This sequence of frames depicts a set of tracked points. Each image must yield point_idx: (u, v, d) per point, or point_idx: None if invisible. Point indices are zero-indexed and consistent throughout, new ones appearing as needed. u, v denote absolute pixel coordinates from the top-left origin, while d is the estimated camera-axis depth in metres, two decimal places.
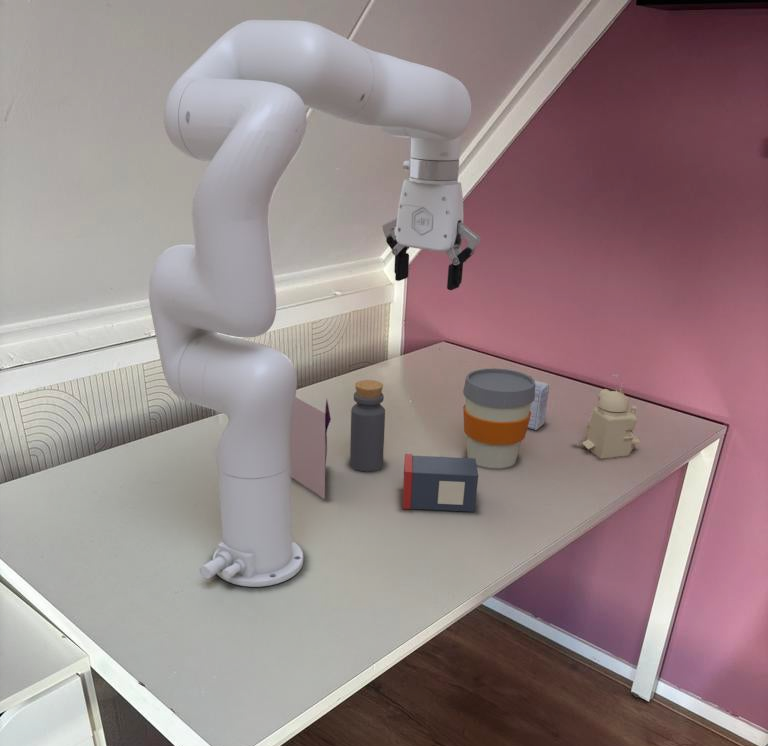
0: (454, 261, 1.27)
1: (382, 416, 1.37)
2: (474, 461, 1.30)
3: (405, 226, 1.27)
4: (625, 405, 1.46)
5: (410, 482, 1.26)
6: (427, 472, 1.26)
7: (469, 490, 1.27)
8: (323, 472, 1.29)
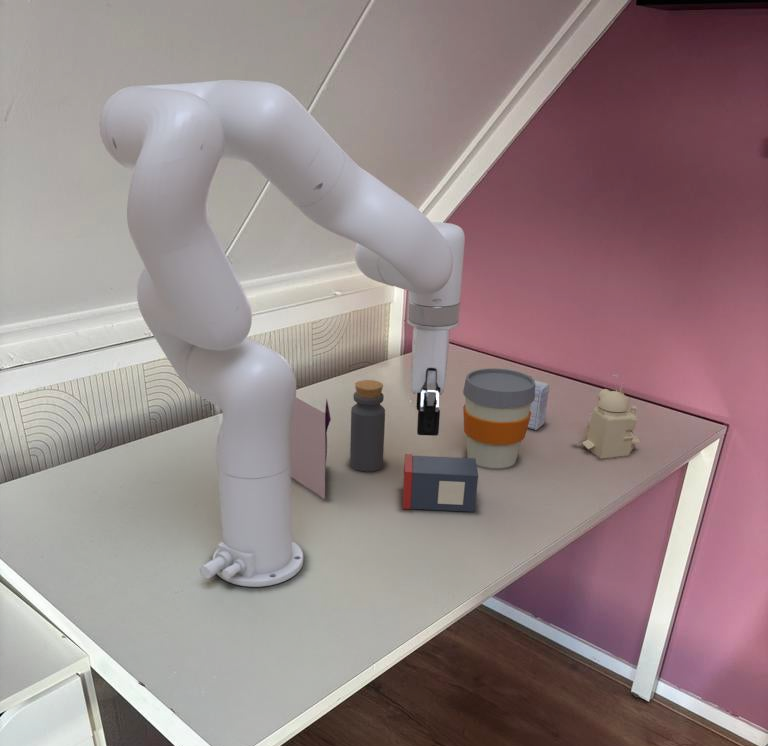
0: None
1: (382, 416, 1.37)
2: (474, 461, 1.30)
3: None
4: (625, 405, 1.46)
5: (410, 482, 1.26)
6: (427, 472, 1.26)
7: (469, 490, 1.27)
8: (323, 472, 1.29)
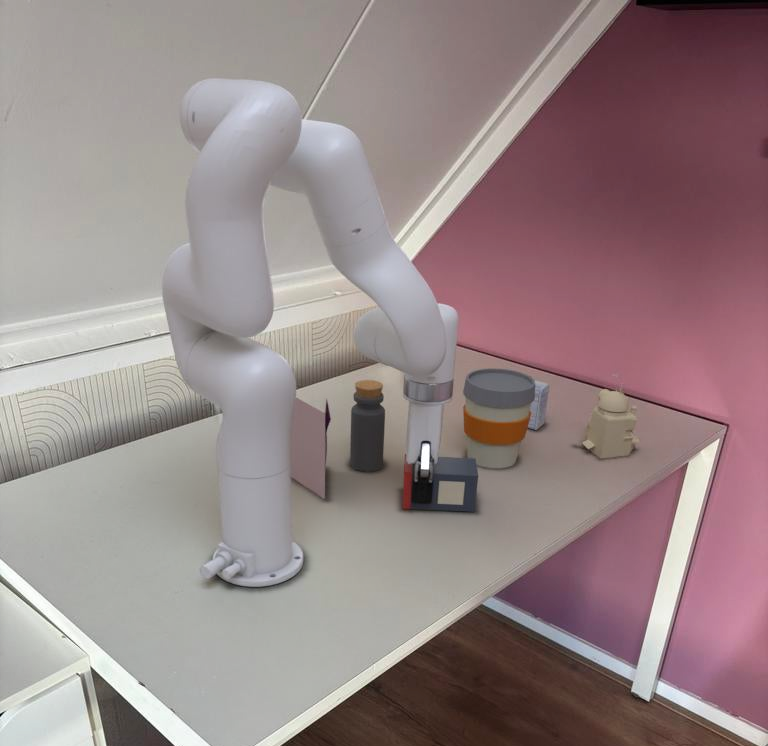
0: None
1: (382, 416, 1.37)
2: (474, 461, 1.30)
3: None
4: (625, 405, 1.46)
5: (410, 482, 1.26)
6: None
7: (469, 490, 1.27)
8: (323, 472, 1.29)
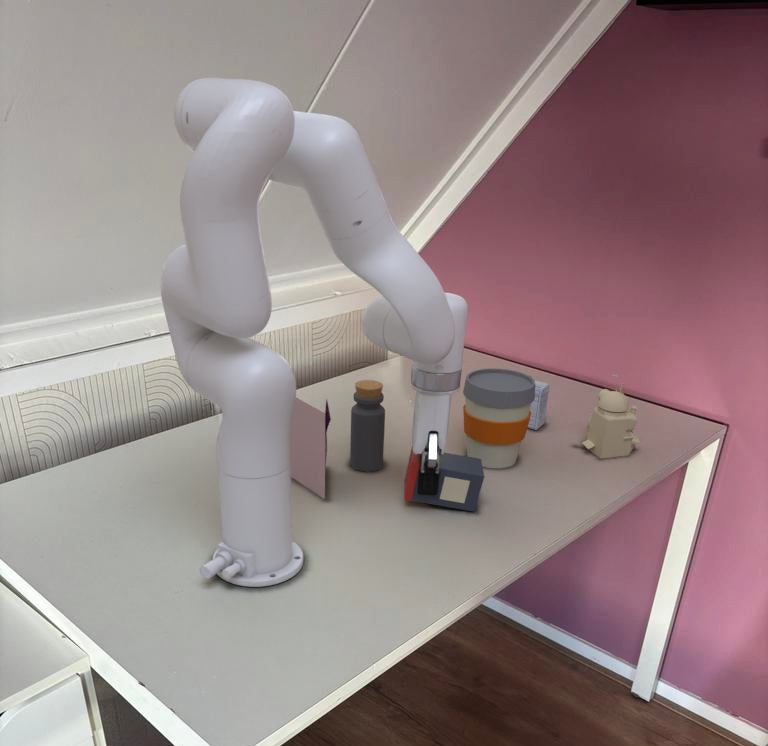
0: None
1: (382, 416, 1.37)
2: (480, 461, 1.30)
3: None
4: (625, 405, 1.46)
5: (416, 474, 1.25)
6: None
7: (473, 489, 1.27)
8: (323, 472, 1.29)
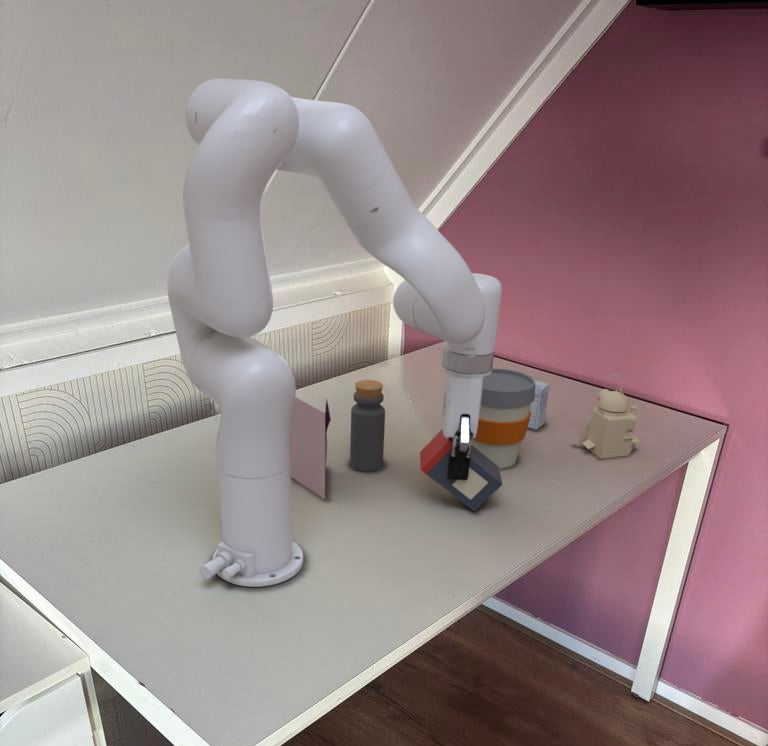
0: None
1: (382, 416, 1.37)
2: (498, 469, 1.31)
3: None
4: (625, 405, 1.46)
5: (445, 452, 1.24)
6: None
7: (486, 491, 1.27)
8: (323, 472, 1.29)
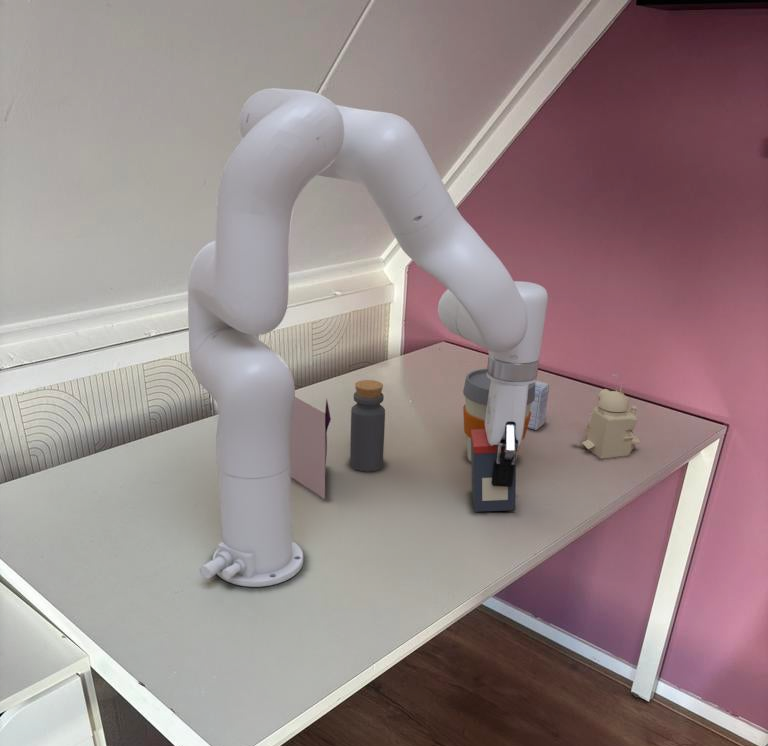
0: (497, 460, 1.23)
1: (382, 416, 1.37)
2: None
3: (486, 410, 1.27)
4: (625, 405, 1.46)
5: None
6: None
7: (498, 504, 1.28)
8: (323, 472, 1.29)
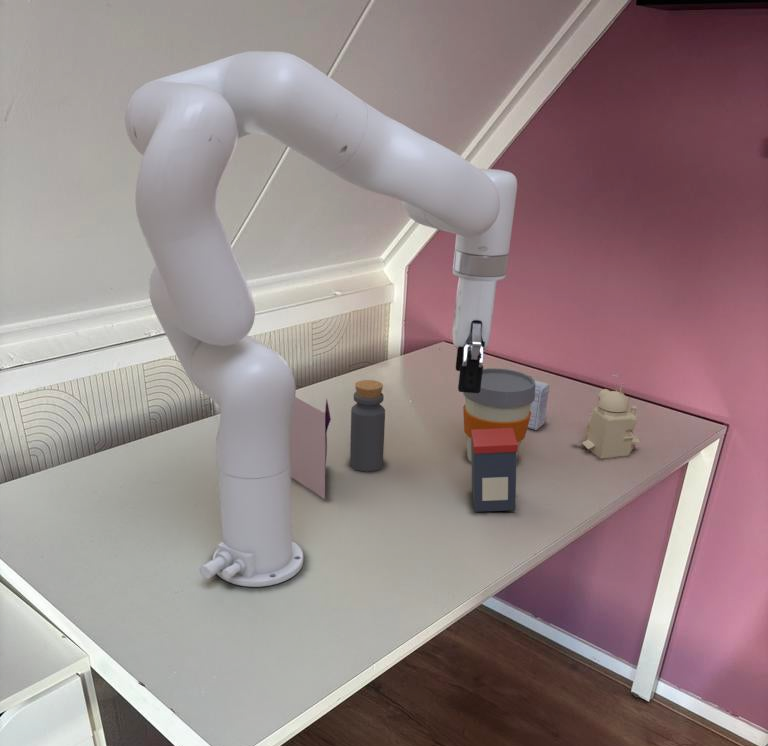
0: None
1: (382, 416, 1.37)
2: None
3: None
4: (625, 405, 1.46)
5: (505, 451, 1.23)
6: None
7: (498, 504, 1.28)
8: (323, 472, 1.29)
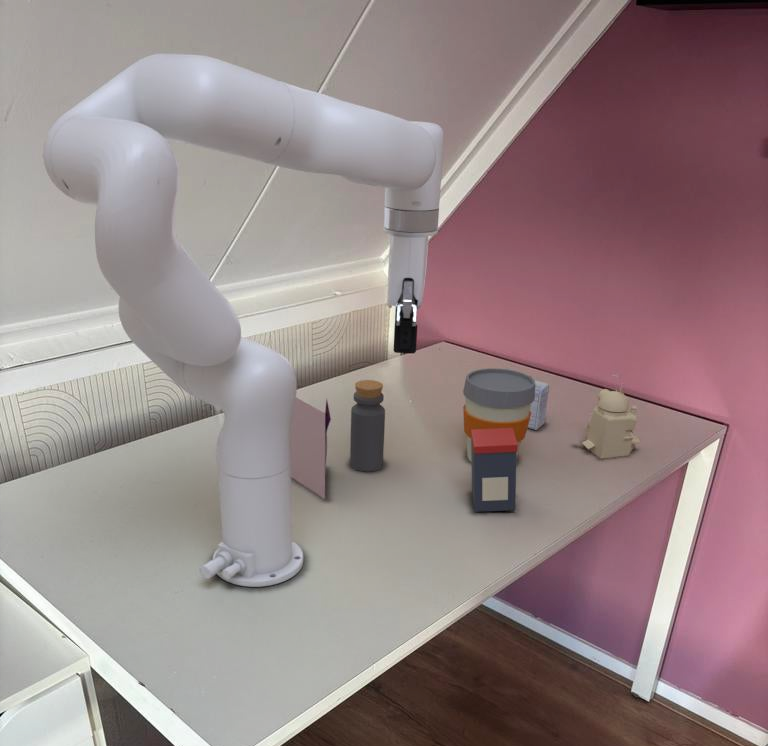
0: None
1: (382, 416, 1.37)
2: None
3: None
4: (625, 405, 1.46)
5: (505, 451, 1.23)
6: None
7: (498, 504, 1.28)
8: (323, 472, 1.29)
